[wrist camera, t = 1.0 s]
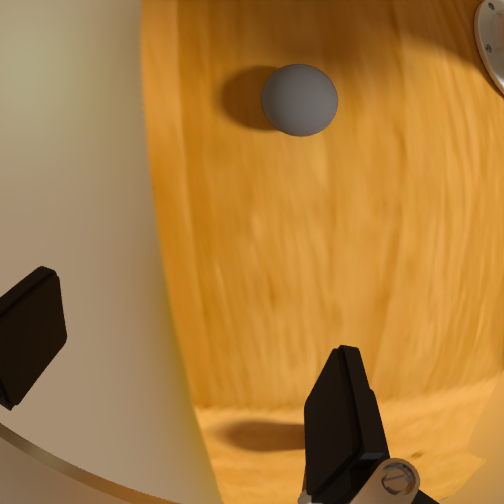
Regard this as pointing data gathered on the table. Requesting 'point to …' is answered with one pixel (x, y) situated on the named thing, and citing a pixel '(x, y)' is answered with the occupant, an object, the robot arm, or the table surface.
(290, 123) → the gray ball
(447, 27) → the table surface
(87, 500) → the robot arm
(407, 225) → the table surface
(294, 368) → the table surface
